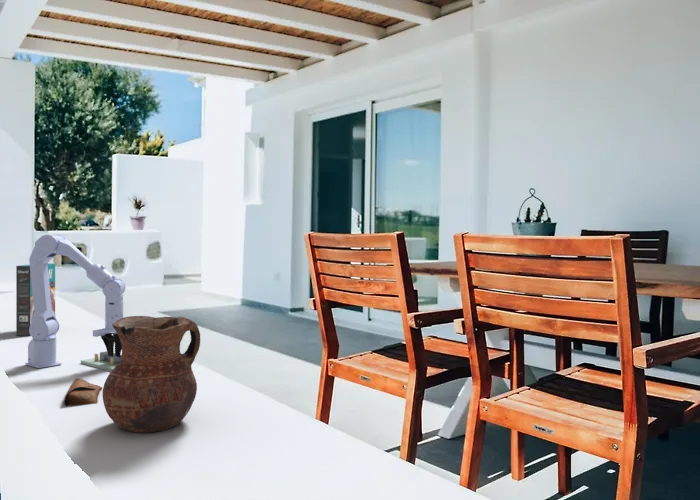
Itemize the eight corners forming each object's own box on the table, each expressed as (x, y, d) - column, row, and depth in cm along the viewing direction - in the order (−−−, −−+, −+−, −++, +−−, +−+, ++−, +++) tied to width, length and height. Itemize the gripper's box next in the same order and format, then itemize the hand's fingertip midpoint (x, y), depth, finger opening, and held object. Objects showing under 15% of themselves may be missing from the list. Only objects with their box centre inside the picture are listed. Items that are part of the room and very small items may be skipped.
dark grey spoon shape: (97, 360, 216) (97, 352, 216) (108, 358, 220) (108, 351, 220) (122, 366, 207) (122, 358, 207) (133, 364, 211) (133, 356, 210)
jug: (142, 445, 135) (143, 329, 134) (81, 428, 146) (81, 320, 145) (216, 420, 154) (216, 318, 153) (157, 406, 165) (157, 311, 164)
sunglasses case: (99, 403, 166) (85, 382, 165) (74, 418, 165) (60, 397, 163) (103, 387, 184) (90, 368, 182) (80, 401, 182) (67, 382, 180)
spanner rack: (80, 363, 216) (80, 353, 216) (110, 358, 225) (110, 348, 224) (113, 371, 204) (113, 361, 204) (142, 366, 212) (143, 356, 212)
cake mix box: (30, 336, 268) (30, 266, 268) (16, 336, 268) (16, 265, 268) (55, 328, 290) (55, 263, 289) (42, 328, 290) (42, 263, 289)
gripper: (100, 318, 205) (100, 360, 205) (140, 314, 216) (139, 353, 216) (89, 316, 209) (89, 357, 209) (128, 312, 220) (128, 351, 221)
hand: (114, 355), depth 213 cm, fingers closed
